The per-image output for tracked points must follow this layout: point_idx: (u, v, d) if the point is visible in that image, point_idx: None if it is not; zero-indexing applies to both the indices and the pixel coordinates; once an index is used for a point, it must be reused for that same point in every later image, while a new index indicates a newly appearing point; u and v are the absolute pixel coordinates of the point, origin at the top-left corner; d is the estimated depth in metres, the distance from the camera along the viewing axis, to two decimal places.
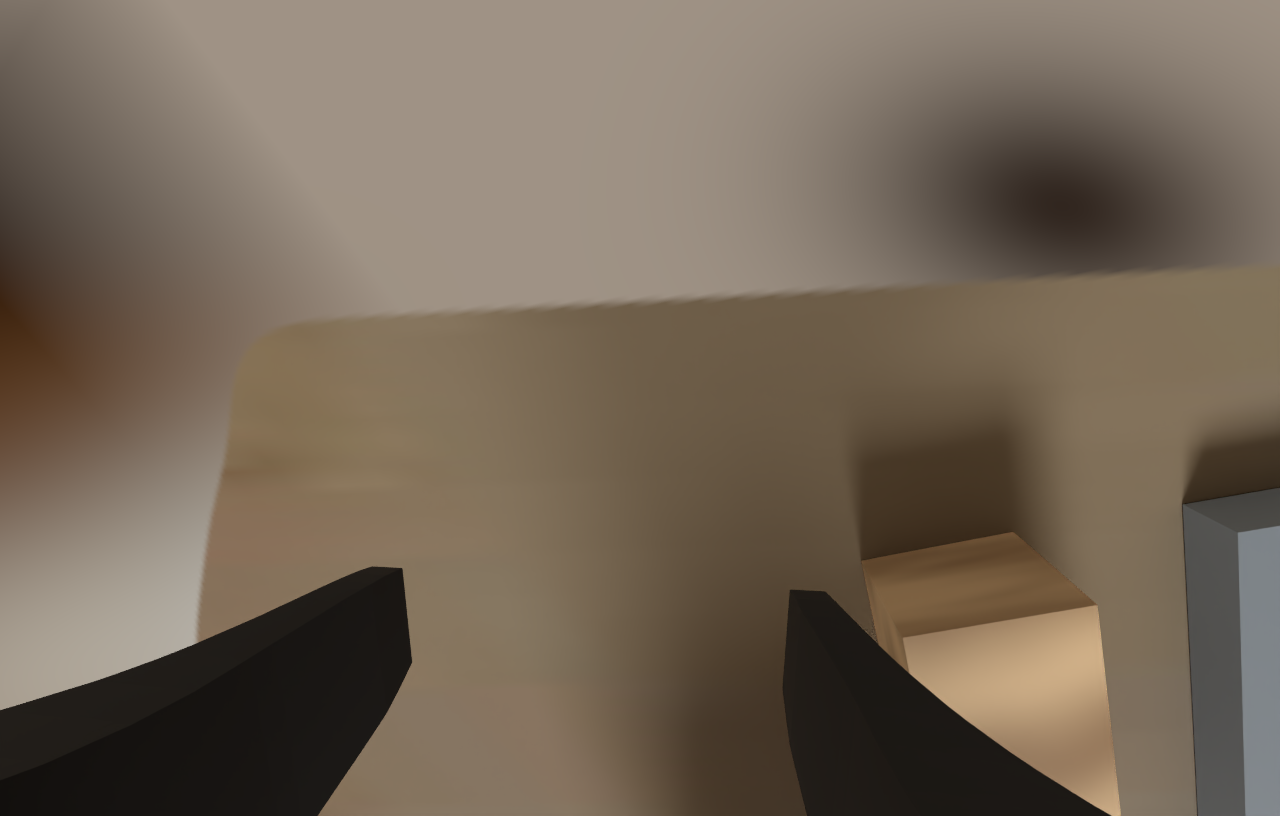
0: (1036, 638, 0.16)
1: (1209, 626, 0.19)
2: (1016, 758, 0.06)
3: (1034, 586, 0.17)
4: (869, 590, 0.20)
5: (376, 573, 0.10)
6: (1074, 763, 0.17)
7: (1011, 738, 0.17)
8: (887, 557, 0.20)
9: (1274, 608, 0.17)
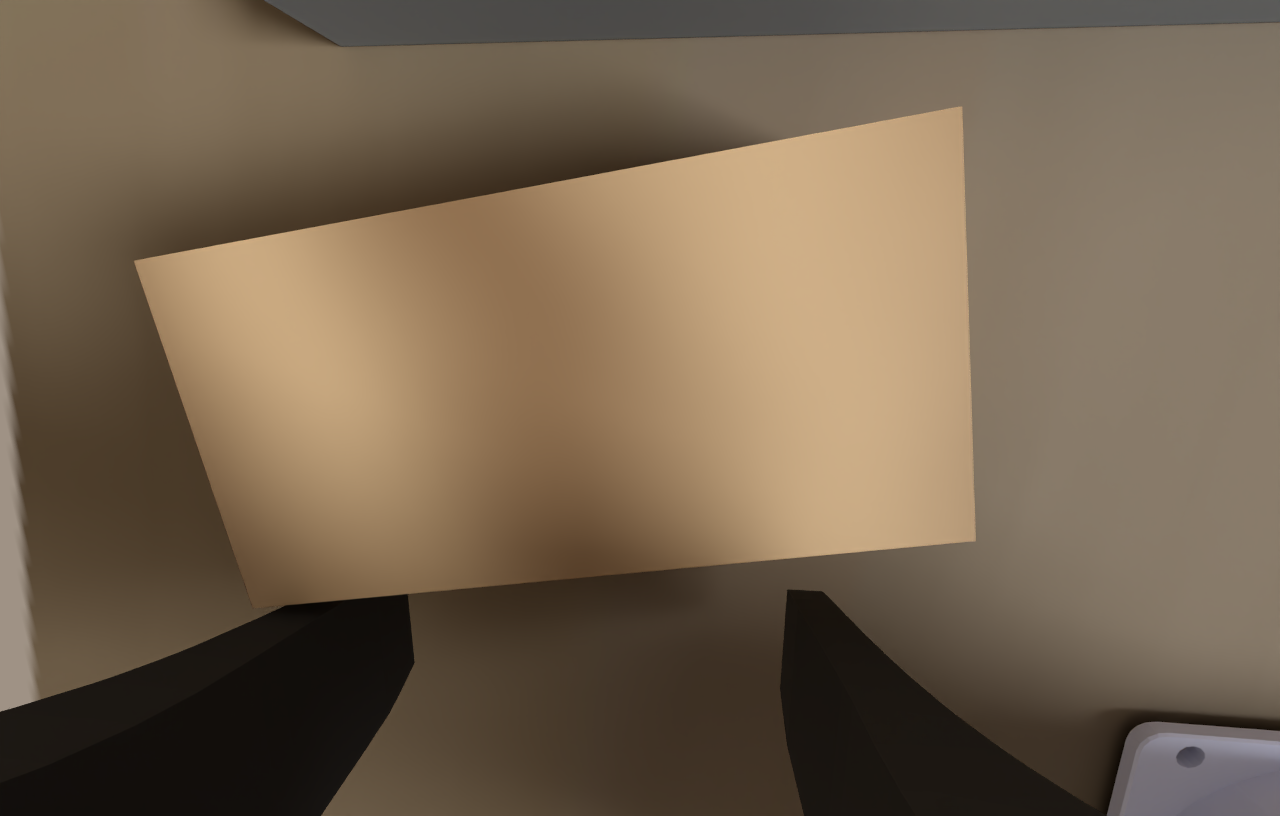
0: (223, 375, 0.08)
1: (536, 21, 0.10)
2: (1012, 758, 0.06)
3: None
4: None
5: None
6: (525, 282, 0.07)
7: (462, 418, 0.08)
8: None
9: None
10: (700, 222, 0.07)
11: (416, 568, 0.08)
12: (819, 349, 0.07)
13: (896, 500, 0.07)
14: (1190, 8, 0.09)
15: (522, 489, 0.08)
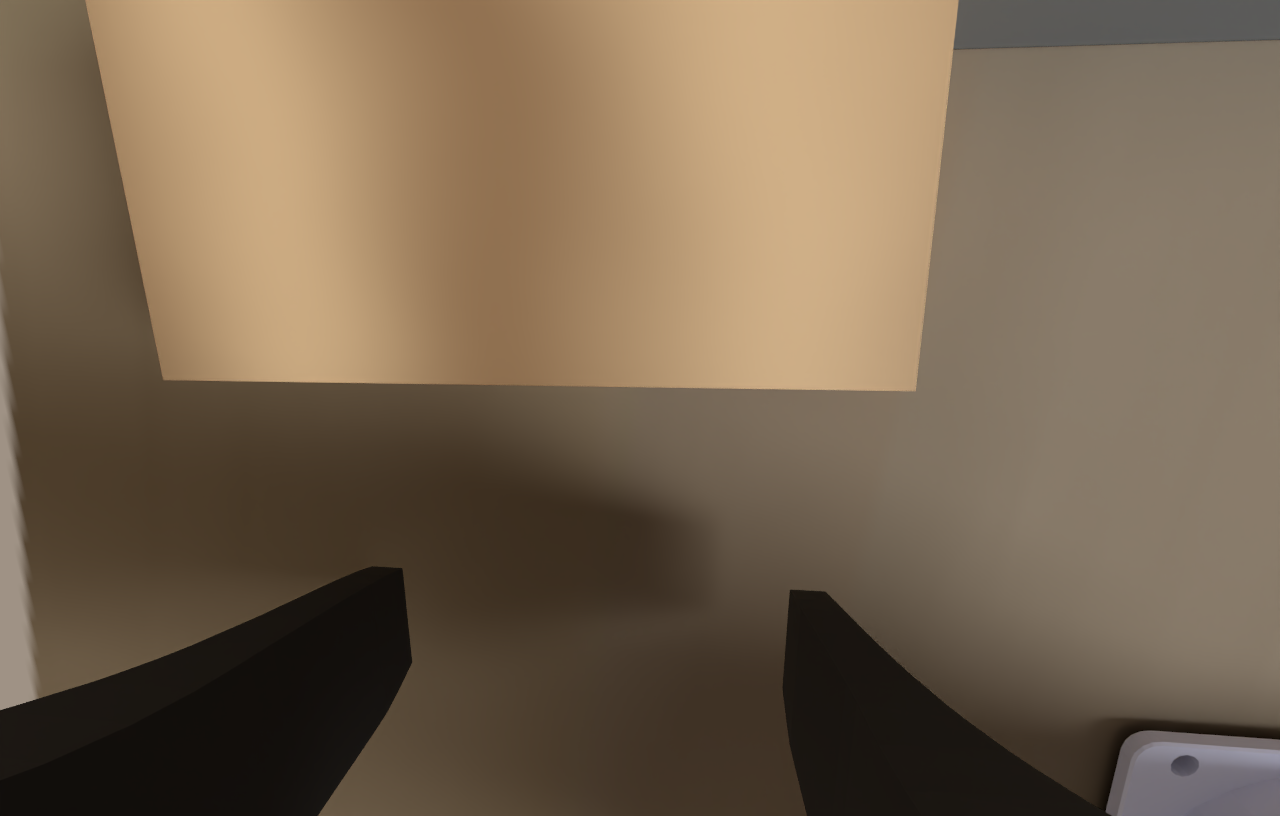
0: (160, 109, 0.07)
1: None
2: (1016, 758, 0.06)
3: None
4: None
5: (376, 573, 0.10)
6: (496, 45, 0.07)
7: (411, 192, 0.07)
8: None
9: None
10: (685, 3, 0.06)
11: (342, 355, 0.08)
12: (788, 160, 0.07)
13: (843, 337, 0.07)
14: (1177, 27, 0.09)
15: (464, 279, 0.07)
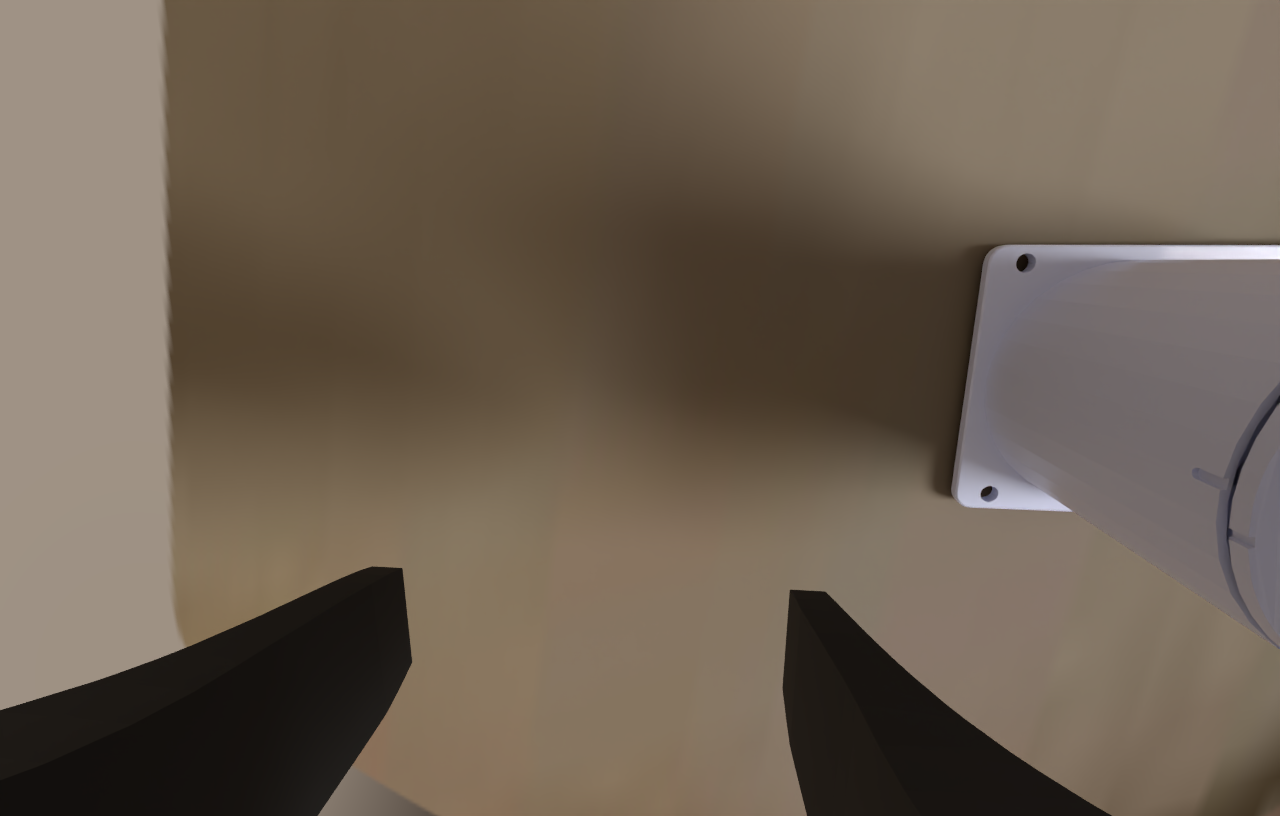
0: None
1: None
2: (1016, 759, 0.06)
3: None
4: None
5: (376, 573, 0.10)
6: None
7: None
8: None
9: None
10: None
11: None
12: None
13: None
14: None
15: None
